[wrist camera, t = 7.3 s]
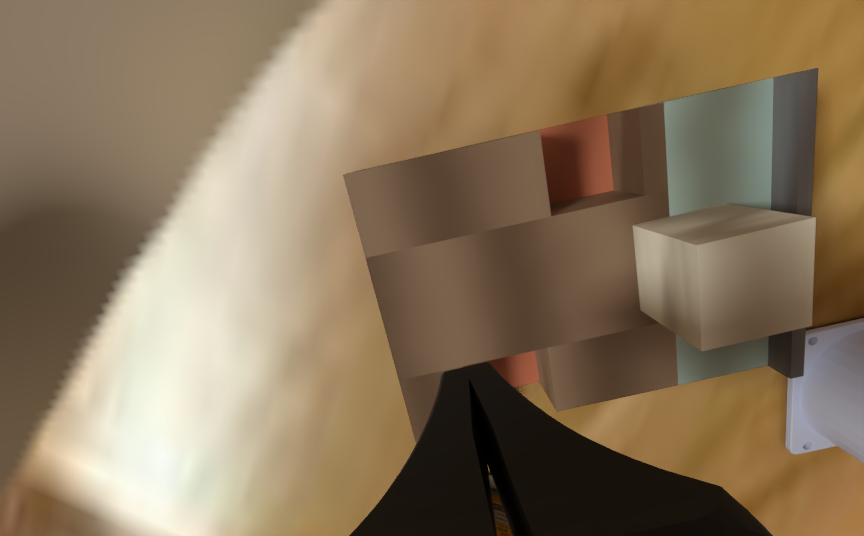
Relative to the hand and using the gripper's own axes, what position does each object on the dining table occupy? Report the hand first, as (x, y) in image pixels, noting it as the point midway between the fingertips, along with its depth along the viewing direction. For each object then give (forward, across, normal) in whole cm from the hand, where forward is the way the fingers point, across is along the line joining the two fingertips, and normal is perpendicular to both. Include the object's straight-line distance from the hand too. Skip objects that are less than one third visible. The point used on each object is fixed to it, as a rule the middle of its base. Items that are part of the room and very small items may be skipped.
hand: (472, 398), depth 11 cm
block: (+7, -10, 0) cm, 12 cm away
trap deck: (+10, -6, 0) cm, 12 cm away
